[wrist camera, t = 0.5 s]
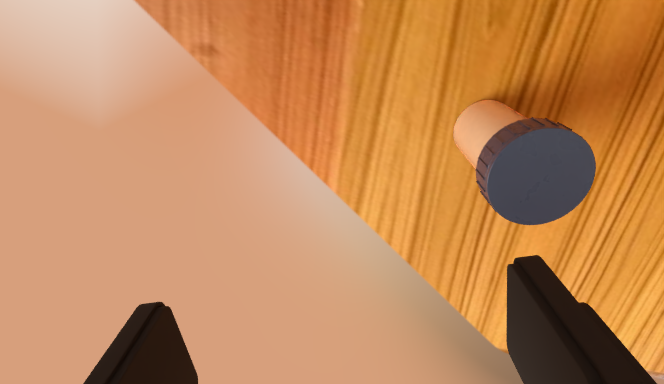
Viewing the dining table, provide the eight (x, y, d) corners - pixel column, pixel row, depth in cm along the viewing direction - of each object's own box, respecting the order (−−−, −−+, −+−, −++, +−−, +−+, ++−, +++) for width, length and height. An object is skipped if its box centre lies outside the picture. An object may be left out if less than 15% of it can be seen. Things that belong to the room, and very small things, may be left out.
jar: (493, 86, 36) (553, 118, 25) (526, 132, 37) (596, 179, 27) (441, 127, 37) (478, 173, 27) (475, 170, 39) (522, 227, 29)
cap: (543, 95, 27) (562, 103, 25) (594, 169, 29) (616, 183, 27) (455, 161, 29) (465, 175, 27) (508, 226, 31) (522, 243, 29)
